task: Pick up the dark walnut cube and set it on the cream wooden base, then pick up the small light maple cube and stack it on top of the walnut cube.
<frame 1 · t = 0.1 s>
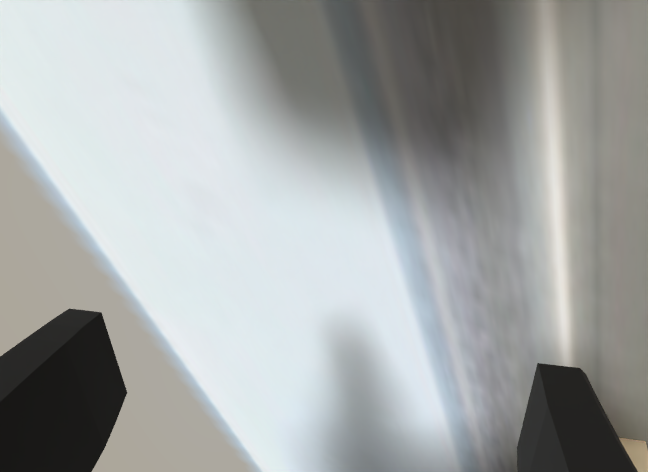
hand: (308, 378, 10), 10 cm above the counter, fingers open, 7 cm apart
maple block: (579, 462, 25), on the counter
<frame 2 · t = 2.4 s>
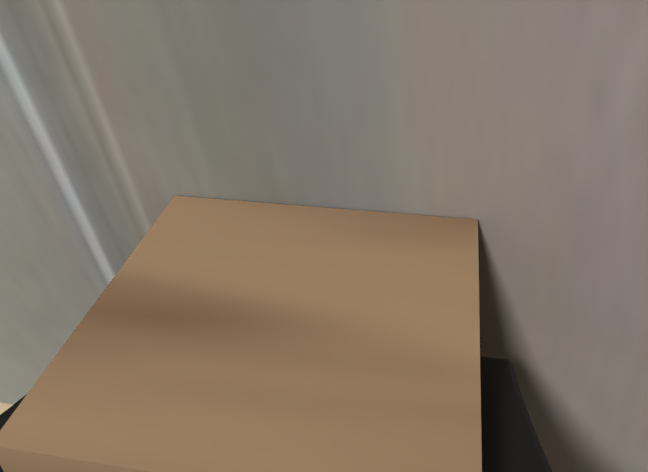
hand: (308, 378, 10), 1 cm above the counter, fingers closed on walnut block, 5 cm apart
walnut block: (324, 321, 11), on the counter, touching gripper
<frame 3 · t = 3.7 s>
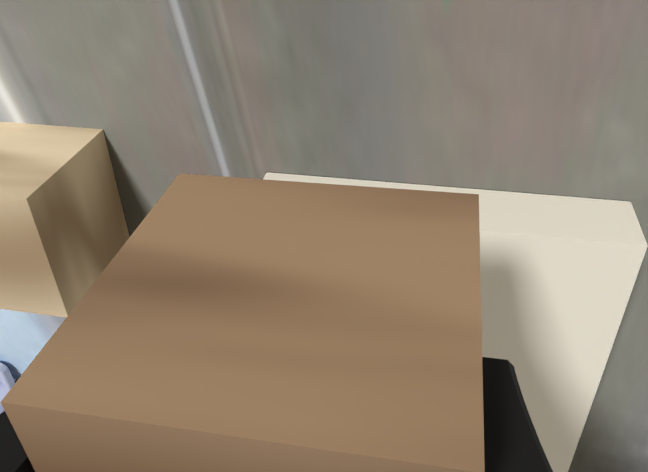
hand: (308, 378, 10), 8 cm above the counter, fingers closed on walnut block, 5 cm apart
walnut block: (327, 299, 12), point 7 cm above the counter, touching gripper
maple block: (61, 180, 20), on the counter
base: (426, 318, 20), on the counter
when the fingers open (4 cm above the counter, at t = 5.3 s): walnut block stays where it is, resting on base.
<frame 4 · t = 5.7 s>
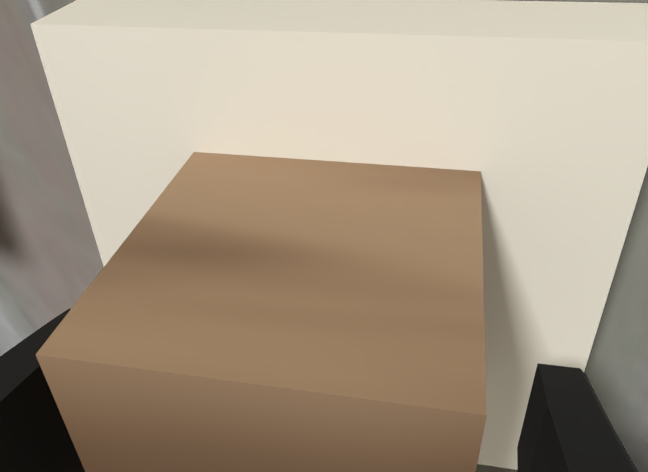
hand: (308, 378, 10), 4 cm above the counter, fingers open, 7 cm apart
walnut block: (334, 274, 12), point 2 cm above the counter, touching base
base: (350, 229, 14), on the counter
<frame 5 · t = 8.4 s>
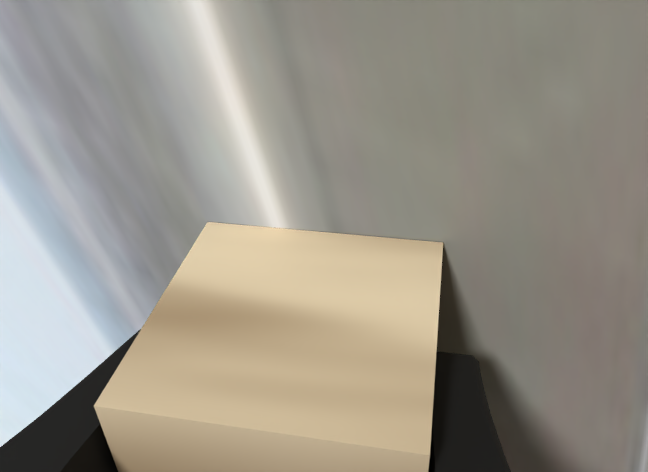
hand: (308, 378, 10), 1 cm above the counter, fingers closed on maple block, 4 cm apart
maple block: (324, 320, 11), on the counter, touching gripper
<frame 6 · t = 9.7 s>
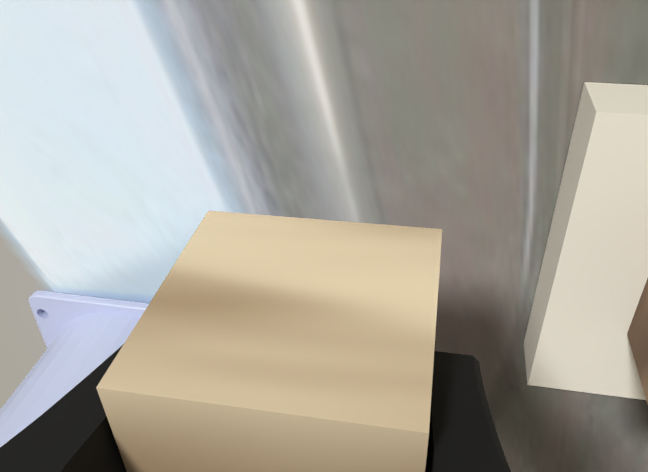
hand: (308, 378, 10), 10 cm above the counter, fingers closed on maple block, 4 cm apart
maple block: (325, 308, 11), point 9 cm above the counter, touching gripper
when the fingers open (9 cm above the counter, at t = 11.1 s): maple block stays where it is, resting on walnut block.
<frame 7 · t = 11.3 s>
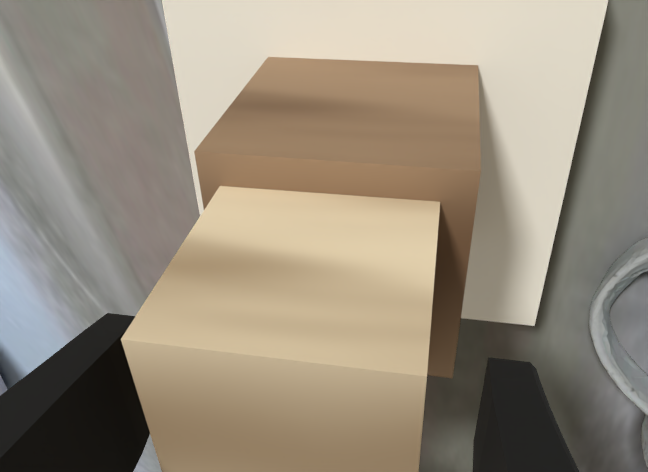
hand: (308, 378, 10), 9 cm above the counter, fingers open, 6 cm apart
walnut block: (368, 155, 16), point 2 cm above the counter, touching base, maple block
maple block: (329, 280, 12), point 7 cm above the counter, touching walnut block
base: (377, 132, 18), on the counter
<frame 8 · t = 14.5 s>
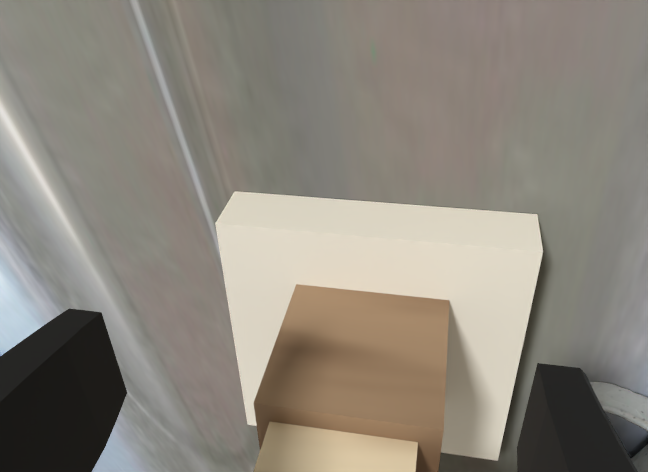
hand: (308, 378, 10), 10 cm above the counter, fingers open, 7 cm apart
walnut block: (369, 346, 21), point 2 cm above the counter, touching base, maple block
base: (376, 314, 23), on the counter
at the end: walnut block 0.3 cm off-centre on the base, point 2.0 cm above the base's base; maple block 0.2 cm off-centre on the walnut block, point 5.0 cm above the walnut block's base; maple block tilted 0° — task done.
